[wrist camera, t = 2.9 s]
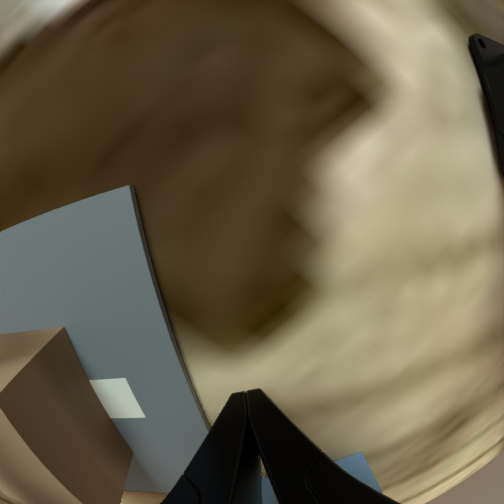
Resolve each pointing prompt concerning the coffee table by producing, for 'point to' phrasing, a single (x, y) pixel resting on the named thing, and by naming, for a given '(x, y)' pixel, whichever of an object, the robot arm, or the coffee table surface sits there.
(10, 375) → the walnut block
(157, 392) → the board
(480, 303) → the coffee table surface
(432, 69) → the coffee table surface
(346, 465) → the blue cube
